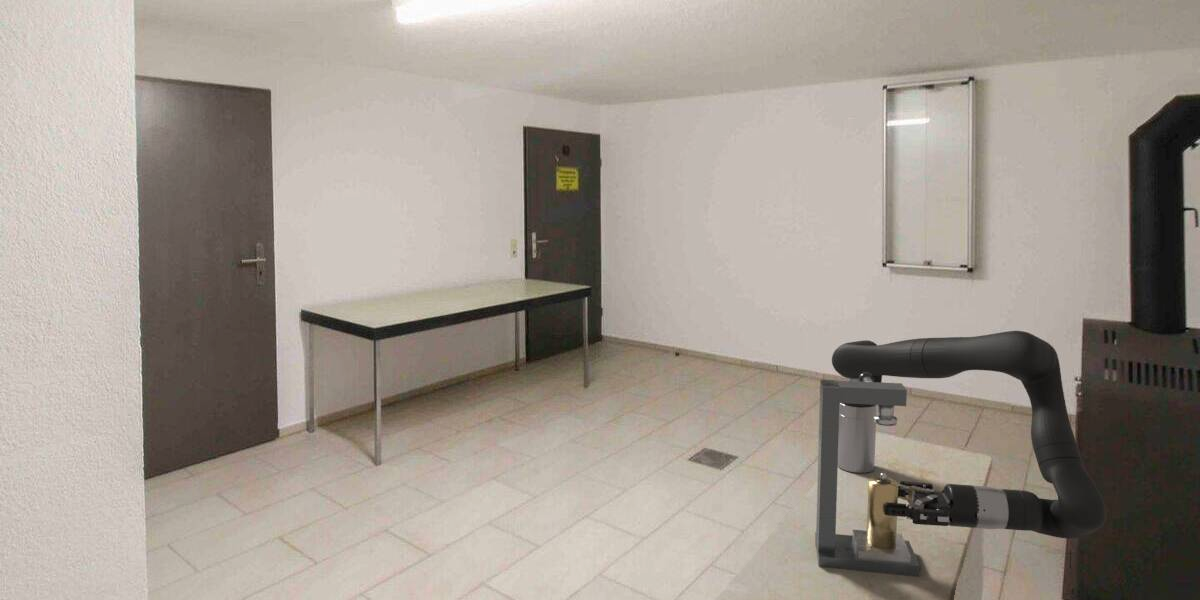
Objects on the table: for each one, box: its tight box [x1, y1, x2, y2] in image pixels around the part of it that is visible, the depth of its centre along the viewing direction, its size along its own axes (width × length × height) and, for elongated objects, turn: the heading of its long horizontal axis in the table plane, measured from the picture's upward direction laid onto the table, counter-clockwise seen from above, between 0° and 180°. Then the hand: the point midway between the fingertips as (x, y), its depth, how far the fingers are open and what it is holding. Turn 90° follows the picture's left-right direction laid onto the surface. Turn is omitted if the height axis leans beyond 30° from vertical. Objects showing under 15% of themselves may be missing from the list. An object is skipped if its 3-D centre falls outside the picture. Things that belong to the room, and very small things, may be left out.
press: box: [814, 372, 921, 577], centre depth 133 cm, size 18×18×34 cm
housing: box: [866, 472, 899, 549], centre depth 130 cm, size 5×5×14 cm
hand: (880, 499), depth 130 cm, fingers open, 8 cm apart
